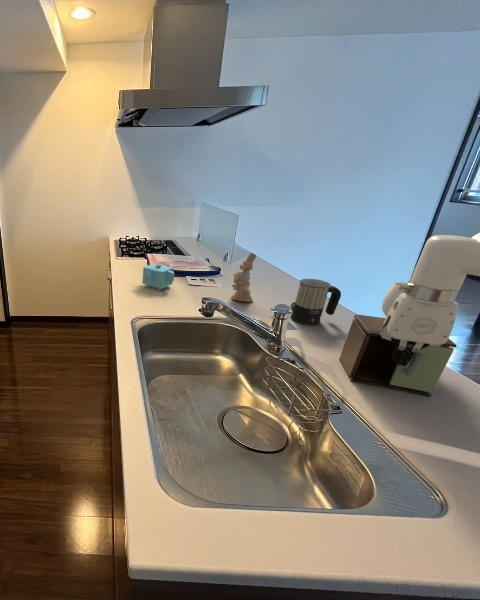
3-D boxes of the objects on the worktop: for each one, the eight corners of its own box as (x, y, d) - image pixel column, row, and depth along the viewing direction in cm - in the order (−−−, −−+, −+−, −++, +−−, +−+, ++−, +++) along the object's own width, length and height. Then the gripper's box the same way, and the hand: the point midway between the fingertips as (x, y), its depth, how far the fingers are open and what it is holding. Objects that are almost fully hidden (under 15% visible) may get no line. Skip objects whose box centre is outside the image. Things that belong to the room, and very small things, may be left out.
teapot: (133, 287, 153) (134, 264, 149) (155, 278, 164) (157, 257, 160) (161, 295, 143) (163, 271, 138) (182, 285, 154) (185, 263, 149)
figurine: (248, 296, 140) (257, 251, 132) (254, 303, 133) (264, 257, 125) (227, 295, 142) (234, 251, 134) (232, 302, 134) (240, 256, 126)
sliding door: (430, 390, 79) (452, 347, 74) (438, 400, 76) (461, 355, 71) (389, 383, 82) (407, 340, 77) (395, 391, 79) (415, 348, 74)
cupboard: (409, 371, 88) (431, 323, 83) (430, 397, 79) (457, 345, 73) (338, 359, 95) (354, 314, 89) (350, 381, 85) (369, 332, 79)
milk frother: (304, 326, 113) (315, 288, 108) (271, 309, 128) (279, 273, 122) (337, 322, 116) (349, 284, 110) (301, 305, 130) (310, 270, 124)
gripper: (393, 293, 70) (365, 364, 77) (489, 304, 64) (449, 378, 71) (380, 282, 76) (355, 348, 83) (466, 291, 70) (431, 361, 77)
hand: (398, 362), depth 77 cm, fingers closed
